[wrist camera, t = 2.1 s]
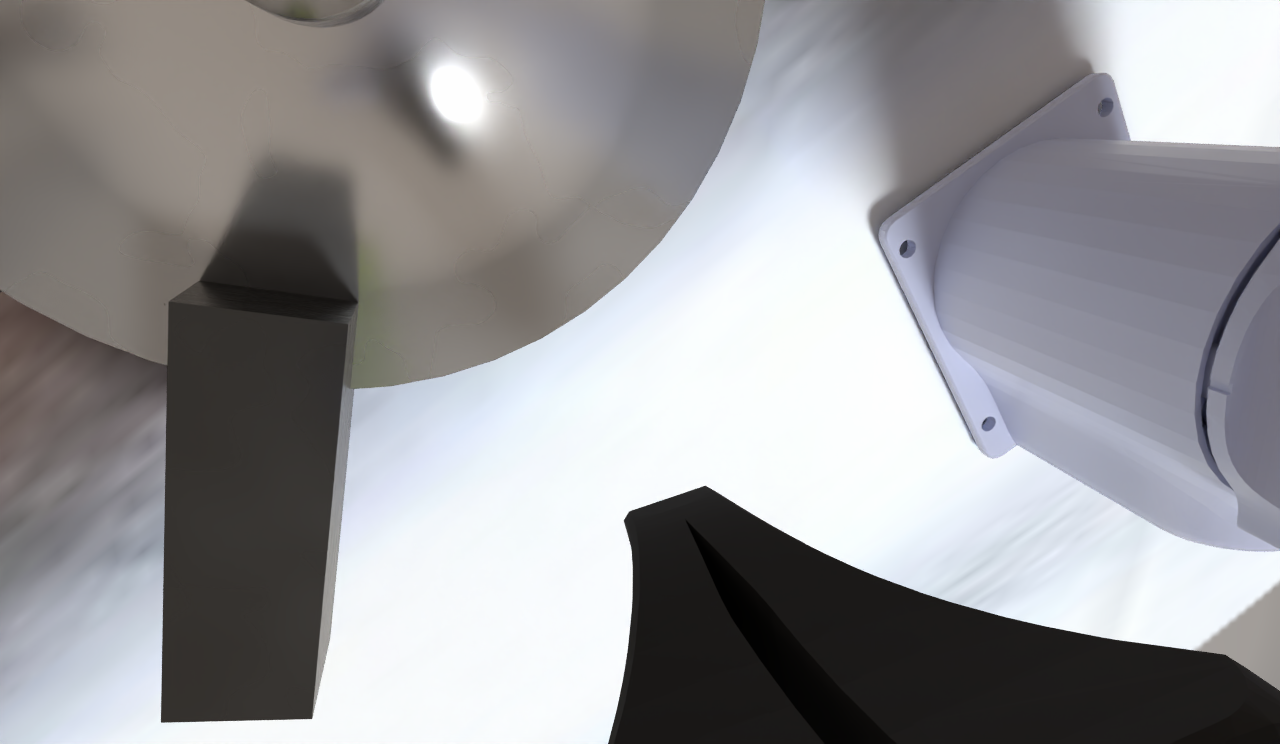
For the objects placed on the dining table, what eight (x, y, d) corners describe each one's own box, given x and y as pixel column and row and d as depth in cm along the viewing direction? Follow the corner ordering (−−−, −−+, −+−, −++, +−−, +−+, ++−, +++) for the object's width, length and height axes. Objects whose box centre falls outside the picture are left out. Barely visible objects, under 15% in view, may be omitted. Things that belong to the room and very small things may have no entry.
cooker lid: (-441, -1120, 7) (-806, -1627, 5) (852, -447, 11) (941, -570, 9) (-186, 635, 13) (-305, 733, 11) (605, 640, 17) (627, 711, 15)
